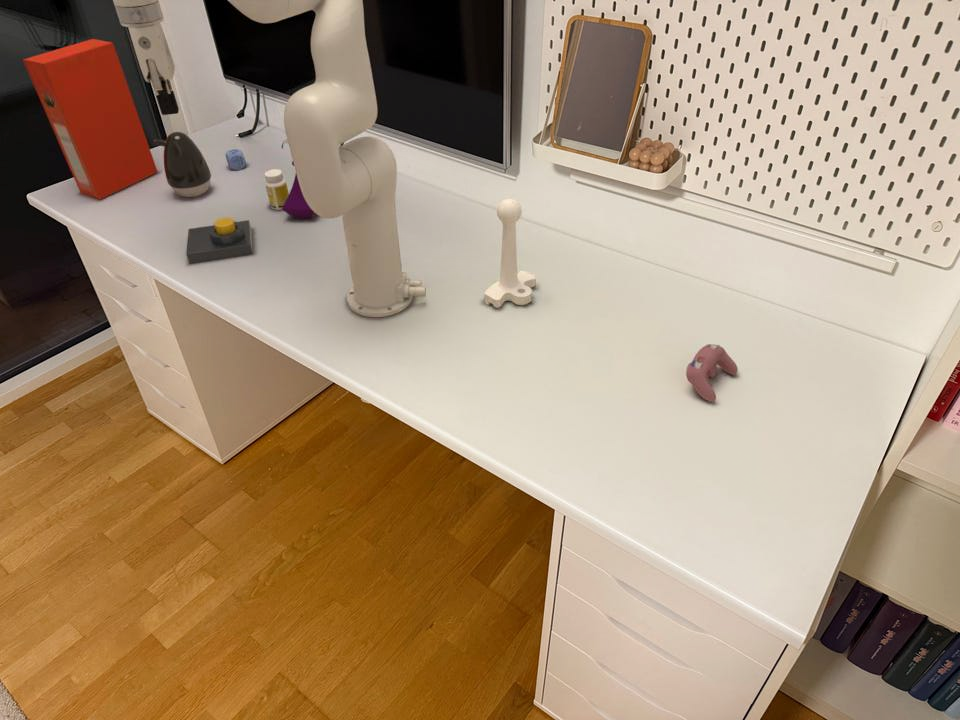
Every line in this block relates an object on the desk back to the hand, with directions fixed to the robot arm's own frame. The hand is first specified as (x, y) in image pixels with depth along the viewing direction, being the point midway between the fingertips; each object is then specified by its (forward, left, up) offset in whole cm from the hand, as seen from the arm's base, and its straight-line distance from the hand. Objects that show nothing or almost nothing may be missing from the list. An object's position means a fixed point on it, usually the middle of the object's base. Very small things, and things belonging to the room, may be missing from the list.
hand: (170, 112), depth 138 cm
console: (-6, +6, -27) cm, 28 cm away
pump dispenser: (+11, -19, -27) cm, 35 cm away
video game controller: (-103, +45, -27) cm, 116 cm away
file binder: (+32, -23, -27) cm, 48 cm away
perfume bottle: (-20, -9, -27) cm, 35 cm away
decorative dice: (+5, -34, -27) cm, 44 cm away
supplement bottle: (-13, -13, -27) cm, 33 cm away
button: (-8, +6, -23) cm, 25 cm away
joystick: (-70, +22, -27) cm, 78 cm away
